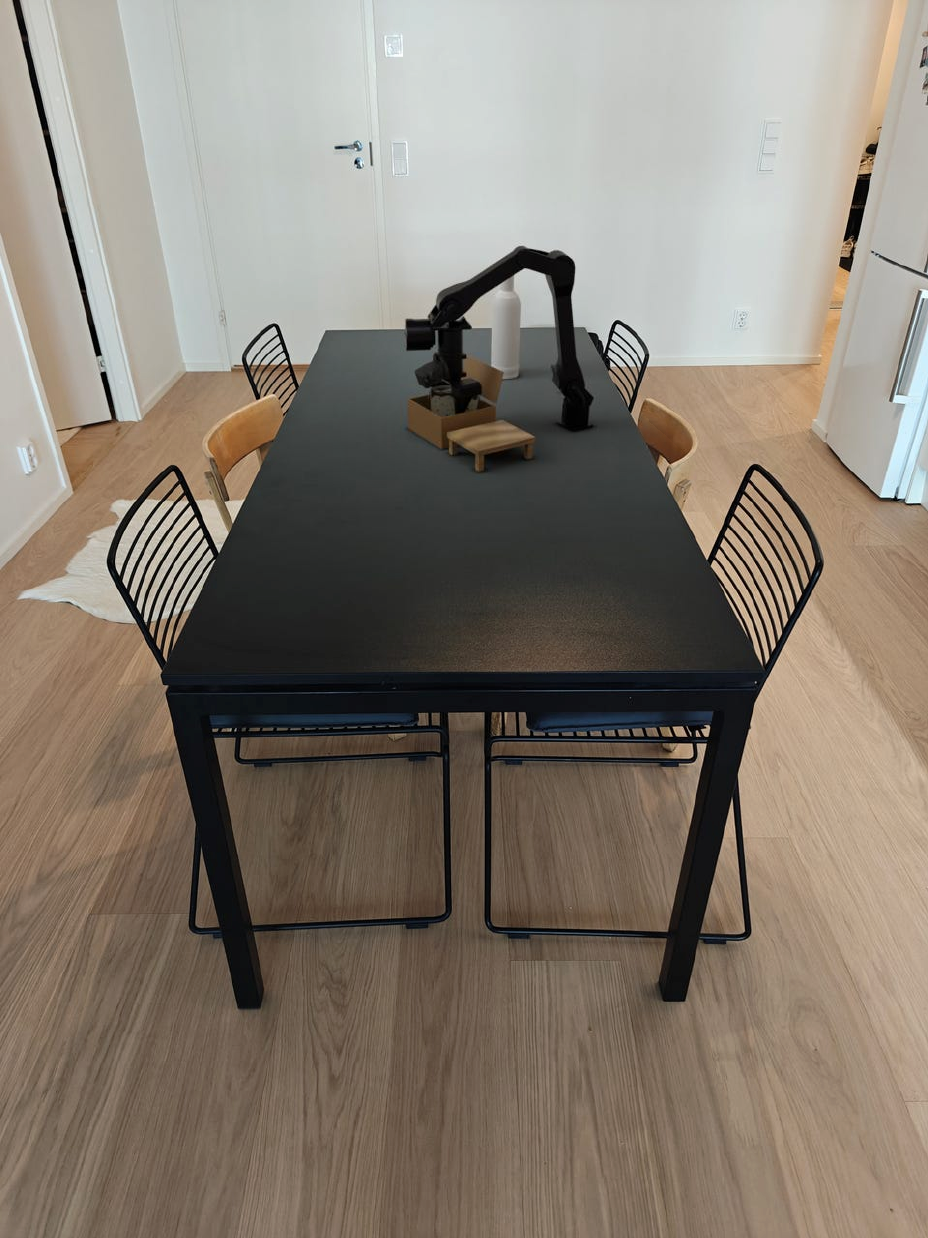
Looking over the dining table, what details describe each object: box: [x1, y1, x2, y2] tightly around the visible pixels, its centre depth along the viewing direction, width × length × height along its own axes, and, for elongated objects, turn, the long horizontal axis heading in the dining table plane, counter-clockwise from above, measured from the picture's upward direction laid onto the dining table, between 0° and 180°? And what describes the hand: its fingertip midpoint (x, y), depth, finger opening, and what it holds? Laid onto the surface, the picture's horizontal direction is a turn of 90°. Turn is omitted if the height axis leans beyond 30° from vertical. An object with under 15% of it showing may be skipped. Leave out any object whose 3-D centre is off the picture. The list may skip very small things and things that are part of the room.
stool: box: [447, 419, 536, 473], centre depth 187 cm, size 13×15×5 cm
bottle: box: [490, 275, 522, 380], centre depth 229 cm, size 8×8×30 cm
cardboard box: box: [406, 393, 497, 450], centre depth 198 cm, size 15×16×7 cm
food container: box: [427, 385, 482, 417], centre depth 198 cm, size 12×6×10 cm, turn 92°
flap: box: [460, 355, 504, 404], centre depth 198 cm, size 7×16×1 cm
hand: (450, 415), depth 198 cm, fingers closed on food container, 7 cm apart
